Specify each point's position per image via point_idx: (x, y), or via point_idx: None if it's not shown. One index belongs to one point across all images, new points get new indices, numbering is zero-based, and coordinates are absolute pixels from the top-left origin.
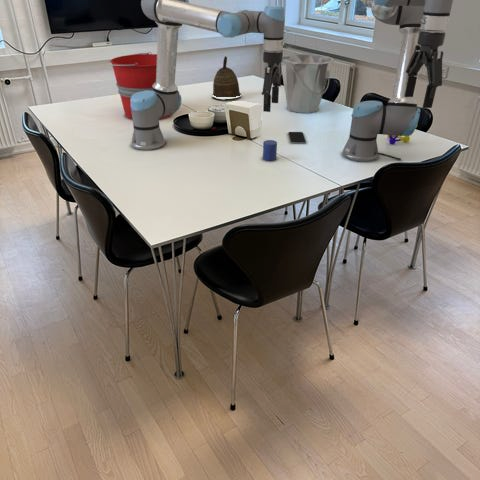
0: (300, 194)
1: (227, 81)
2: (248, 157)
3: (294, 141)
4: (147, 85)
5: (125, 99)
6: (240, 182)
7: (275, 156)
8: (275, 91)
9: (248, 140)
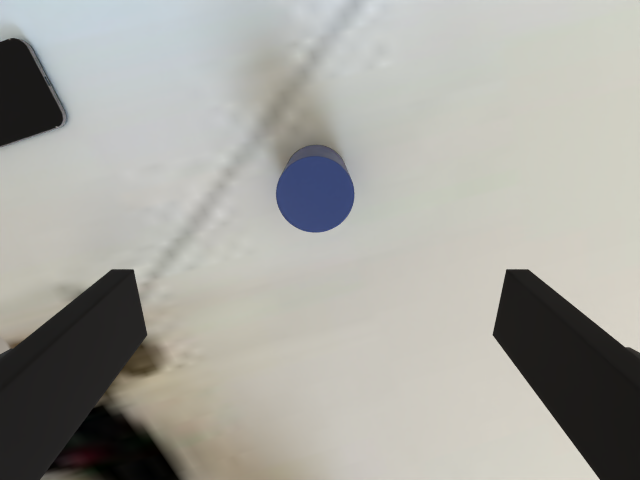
0: None
1: None
2: (326, 265)
3: (46, 105)
4: None
5: None
6: (588, 224)
7: (325, 148)
8: (44, 406)
9: None
